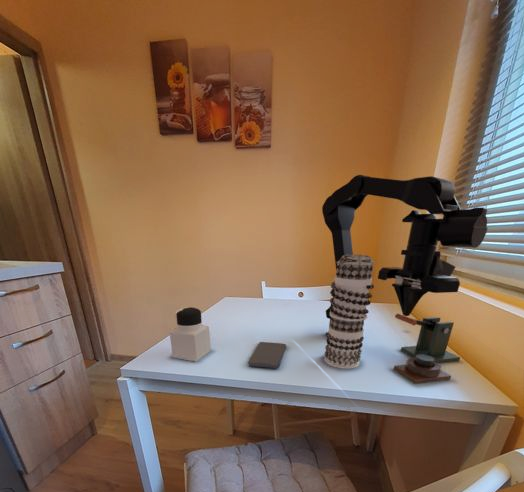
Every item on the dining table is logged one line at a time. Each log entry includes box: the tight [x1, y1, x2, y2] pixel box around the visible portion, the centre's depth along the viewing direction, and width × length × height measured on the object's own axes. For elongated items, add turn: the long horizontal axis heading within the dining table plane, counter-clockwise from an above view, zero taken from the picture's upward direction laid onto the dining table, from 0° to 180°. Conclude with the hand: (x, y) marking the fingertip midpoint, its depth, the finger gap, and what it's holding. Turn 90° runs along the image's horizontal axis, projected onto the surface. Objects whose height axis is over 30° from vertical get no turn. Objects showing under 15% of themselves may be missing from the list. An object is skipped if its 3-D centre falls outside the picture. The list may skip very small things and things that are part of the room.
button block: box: [393, 357, 452, 385], centre depth 62 cm, size 9×7×3 cm
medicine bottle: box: [169, 306, 212, 363], centre depth 69 cm, size 7×7×12 cm
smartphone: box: [247, 341, 287, 369], centre depth 71 cm, size 8×1×15 cm
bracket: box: [400, 316, 461, 364], centre depth 71 cm, size 10×9×10 cm
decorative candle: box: [324, 254, 376, 369], centre depth 64 cm, size 9×9×25 cm
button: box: [414, 354, 435, 368], centre depth 61 cm, size 4×4×2 cm
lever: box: [394, 313, 437, 332], centre depth 68 cm, size 12×6×2 cm, turn 104°
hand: (406, 315), depth 66 cm, fingers closed
